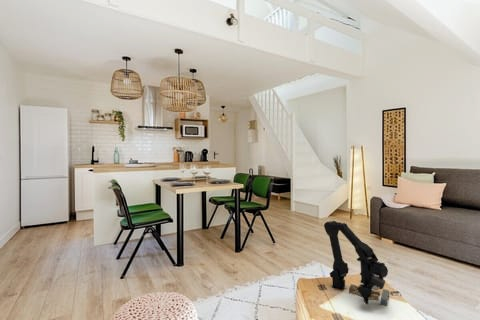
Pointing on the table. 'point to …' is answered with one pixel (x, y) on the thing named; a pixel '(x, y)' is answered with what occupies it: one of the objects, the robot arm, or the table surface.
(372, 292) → the base
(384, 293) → the grey bracket bar
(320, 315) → the table surface
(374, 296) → the bar
